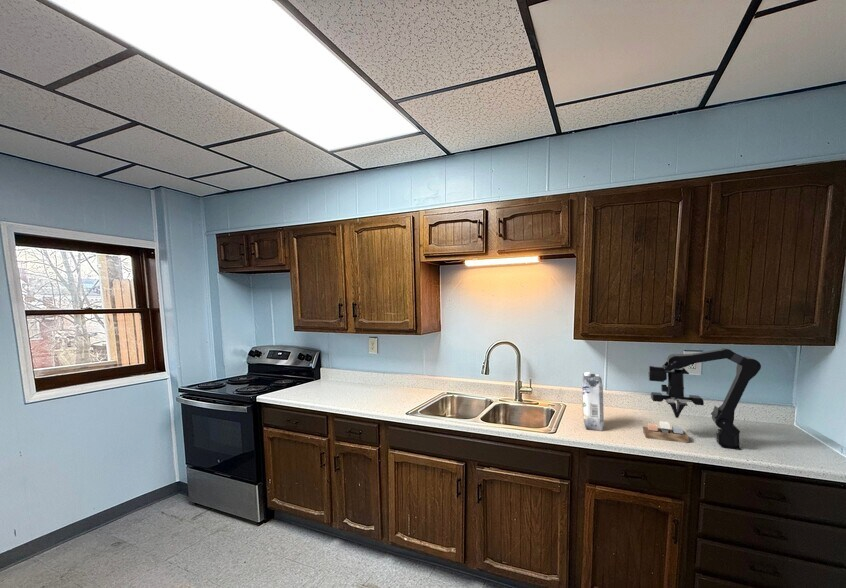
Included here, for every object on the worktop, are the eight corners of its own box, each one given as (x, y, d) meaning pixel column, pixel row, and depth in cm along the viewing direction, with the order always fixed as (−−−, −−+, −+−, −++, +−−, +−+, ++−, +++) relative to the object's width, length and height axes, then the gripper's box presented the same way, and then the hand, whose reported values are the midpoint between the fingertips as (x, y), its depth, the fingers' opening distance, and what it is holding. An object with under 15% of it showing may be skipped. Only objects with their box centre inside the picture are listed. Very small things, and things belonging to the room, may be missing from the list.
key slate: (681, 437, 159) (680, 426, 160) (683, 440, 156) (683, 429, 156) (672, 436, 161) (671, 425, 161) (674, 439, 158) (673, 428, 158)
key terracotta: (656, 434, 163) (655, 424, 163) (657, 437, 160) (657, 426, 160) (647, 433, 165) (647, 423, 165) (649, 436, 162) (648, 425, 162)
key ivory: (668, 432, 161) (668, 422, 161) (670, 435, 158) (670, 424, 158) (659, 431, 163) (659, 421, 163) (661, 434, 160) (661, 423, 160)
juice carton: (602, 424, 178) (600, 371, 178) (604, 432, 168) (603, 375, 168) (582, 422, 181) (581, 370, 181) (584, 430, 171) (582, 374, 172)
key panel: (684, 436, 161) (684, 430, 161) (688, 442, 154) (688, 436, 154) (643, 432, 167) (643, 426, 167) (645, 437, 160) (645, 431, 161)
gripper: (695, 380, 162) (696, 414, 162) (648, 377, 170) (648, 409, 170) (703, 386, 152) (704, 422, 152) (652, 382, 160) (653, 417, 160)
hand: (676, 417), depth 159 cm, fingers closed
